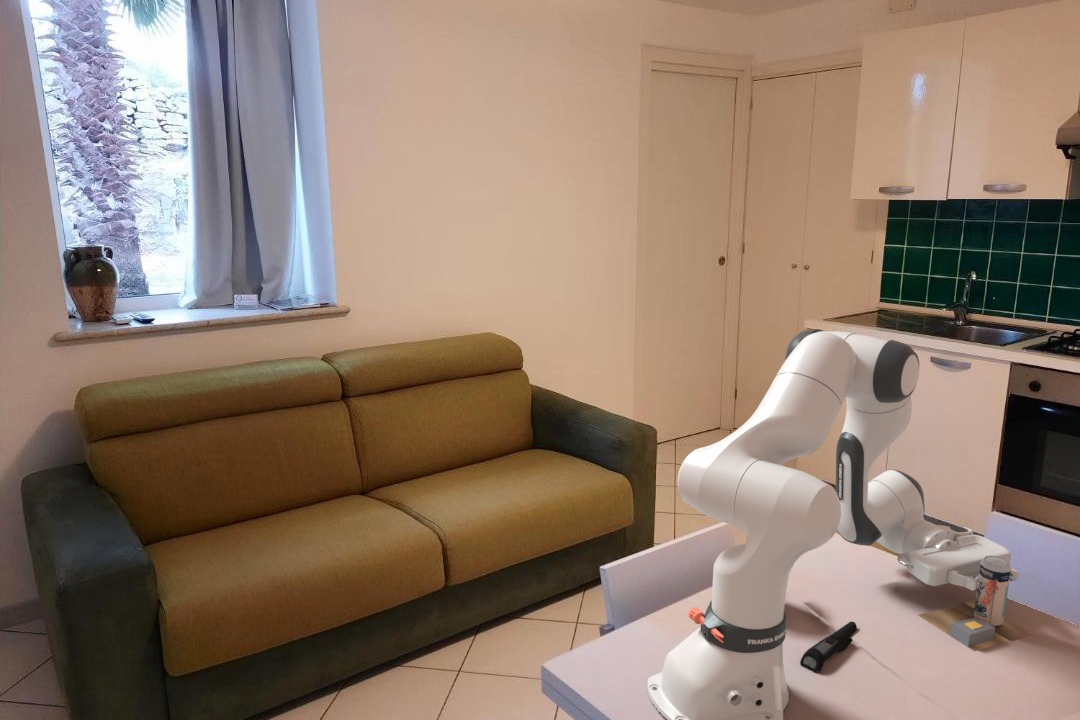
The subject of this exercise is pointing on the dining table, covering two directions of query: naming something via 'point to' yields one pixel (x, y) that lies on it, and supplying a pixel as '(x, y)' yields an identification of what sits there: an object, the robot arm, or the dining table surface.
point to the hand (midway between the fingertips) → (996, 581)
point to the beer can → (992, 590)
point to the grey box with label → (972, 631)
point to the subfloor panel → (965, 611)
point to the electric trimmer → (828, 648)
